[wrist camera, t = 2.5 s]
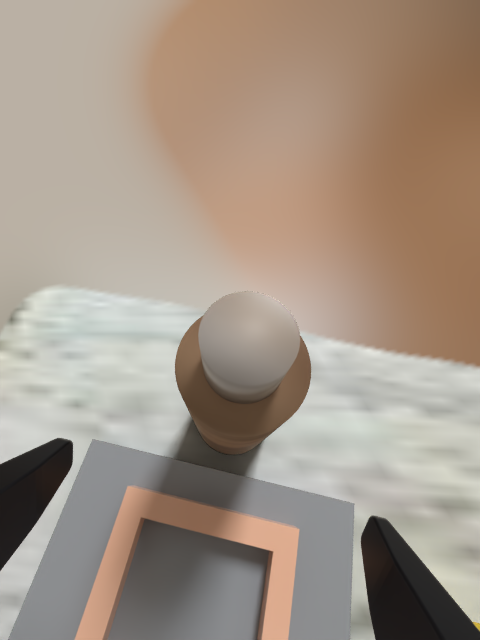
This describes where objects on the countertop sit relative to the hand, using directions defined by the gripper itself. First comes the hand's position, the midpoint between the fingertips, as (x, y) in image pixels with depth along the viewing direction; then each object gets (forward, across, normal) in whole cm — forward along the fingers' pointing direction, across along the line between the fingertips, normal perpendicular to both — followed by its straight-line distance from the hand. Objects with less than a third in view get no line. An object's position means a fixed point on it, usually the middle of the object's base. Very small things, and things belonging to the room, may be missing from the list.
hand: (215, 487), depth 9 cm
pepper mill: (+11, 0, +5) cm, 12 cm away
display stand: (+3, 0, +12) cm, 12 cm away
